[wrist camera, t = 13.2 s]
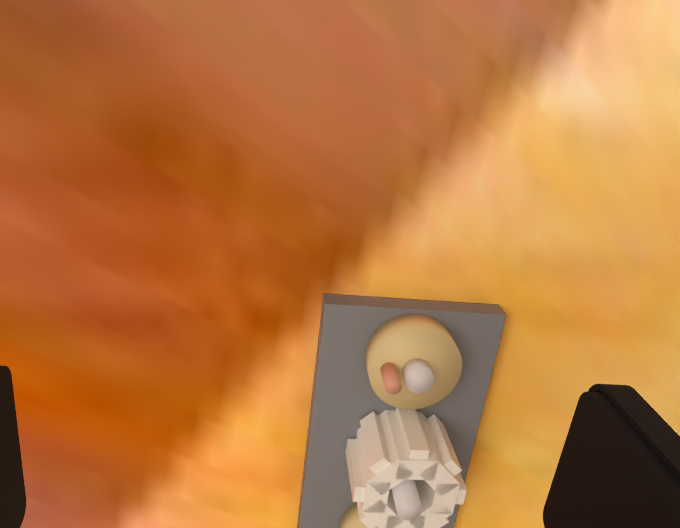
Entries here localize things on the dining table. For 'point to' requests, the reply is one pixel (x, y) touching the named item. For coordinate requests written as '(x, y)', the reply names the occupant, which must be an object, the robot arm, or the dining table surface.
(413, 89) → the dining table surface
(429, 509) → the loose gear
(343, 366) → the gear board
